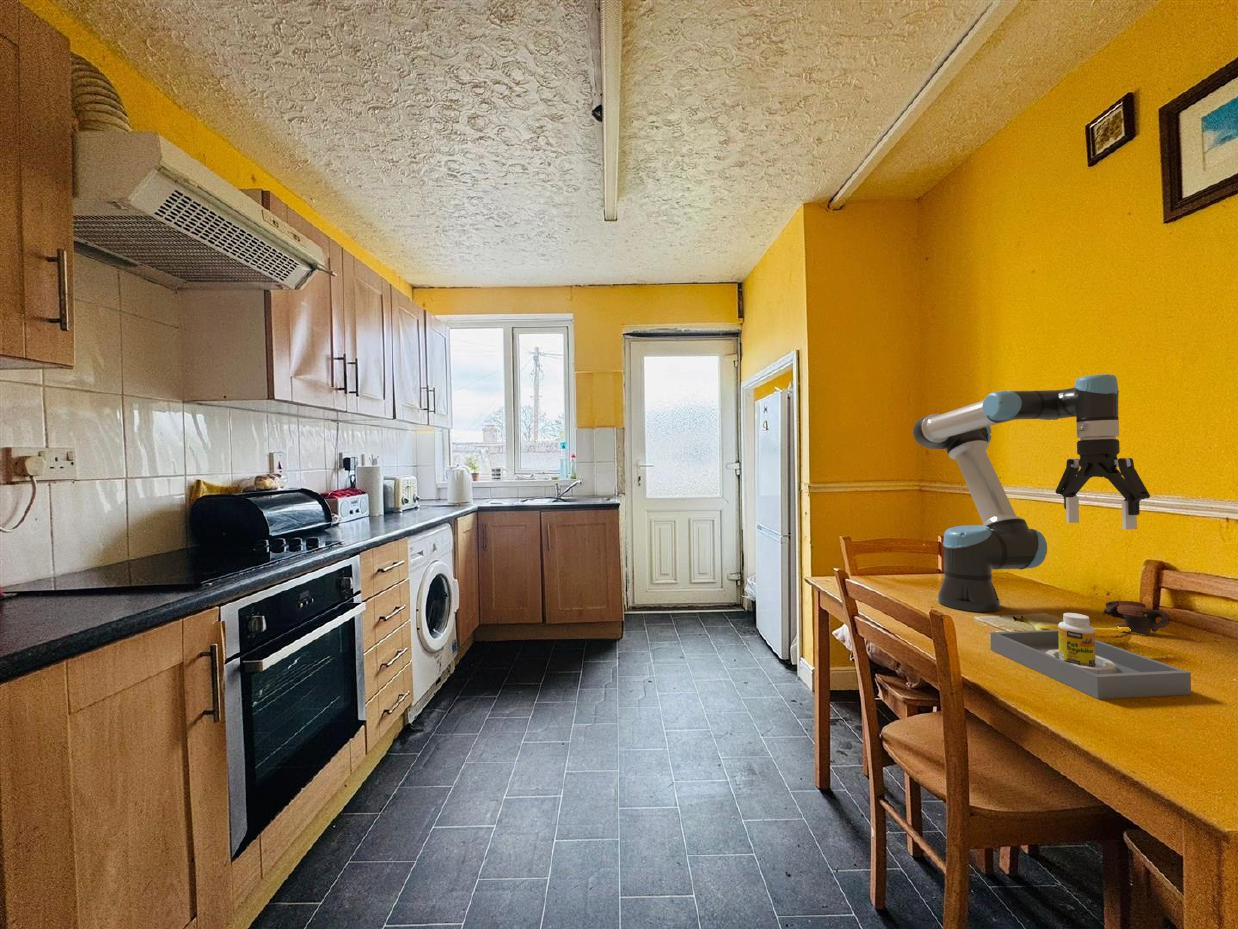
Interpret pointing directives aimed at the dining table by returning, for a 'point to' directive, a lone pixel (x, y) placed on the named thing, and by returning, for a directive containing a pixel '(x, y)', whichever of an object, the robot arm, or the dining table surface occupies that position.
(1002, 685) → the dining table surface
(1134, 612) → the pottery mug
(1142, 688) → the grey tray
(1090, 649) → the supplement bottle
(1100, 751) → the dining table surface
